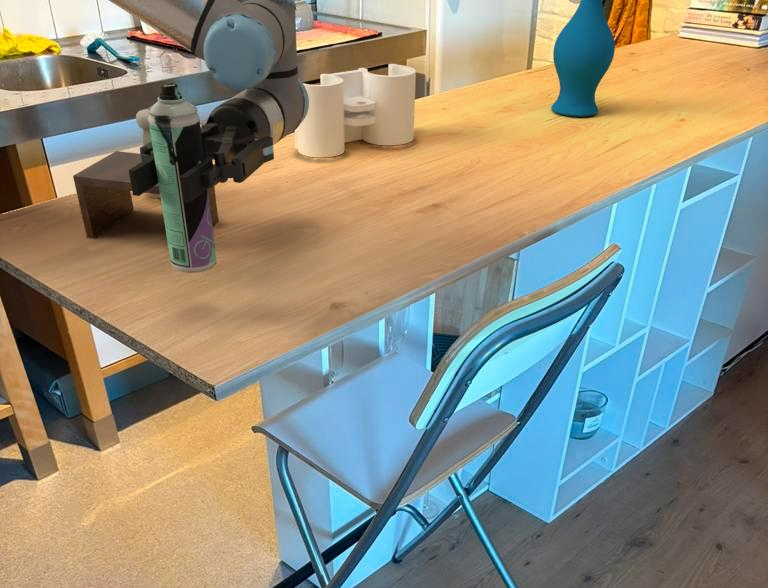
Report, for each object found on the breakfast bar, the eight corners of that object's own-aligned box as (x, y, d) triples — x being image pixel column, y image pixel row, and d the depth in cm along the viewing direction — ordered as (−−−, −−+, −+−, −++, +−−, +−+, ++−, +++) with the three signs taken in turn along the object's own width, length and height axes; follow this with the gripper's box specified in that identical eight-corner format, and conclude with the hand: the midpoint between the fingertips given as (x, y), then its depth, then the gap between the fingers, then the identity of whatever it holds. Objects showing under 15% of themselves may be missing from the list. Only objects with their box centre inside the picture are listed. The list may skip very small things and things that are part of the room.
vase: (551, 102, 184) (571, -47, 165) (607, 108, 181) (634, -43, 162) (540, 116, 175) (560, -40, 157) (599, 122, 172) (626, -36, 154)
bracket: (314, 161, 150) (312, 89, 142) (289, 147, 156) (285, 77, 148) (423, 140, 161) (426, 72, 153) (395, 128, 167) (397, 62, 159)
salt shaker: (137, 195, 135) (121, 111, 127) (162, 185, 139) (149, 103, 130) (161, 203, 133) (147, 117, 124) (187, 193, 136) (175, 109, 128)
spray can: (216, 272, 98) (195, 90, 85) (170, 274, 97) (141, 91, 84) (216, 253, 102) (195, 77, 89) (171, 255, 101) (144, 78, 88)
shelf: (86, 237, 122) (72, 175, 116) (127, 209, 130) (116, 150, 125) (184, 250, 118) (174, 187, 112) (218, 221, 127) (211, 161, 121)
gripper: (312, 165, 106) (240, 230, 89) (183, 150, 110) (91, 210, 93) (310, 103, 101) (234, 159, 84) (175, 90, 105) (76, 141, 88)
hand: (159, 186), depth 89 cm, fingers closed on spray can, 5 cm apart
